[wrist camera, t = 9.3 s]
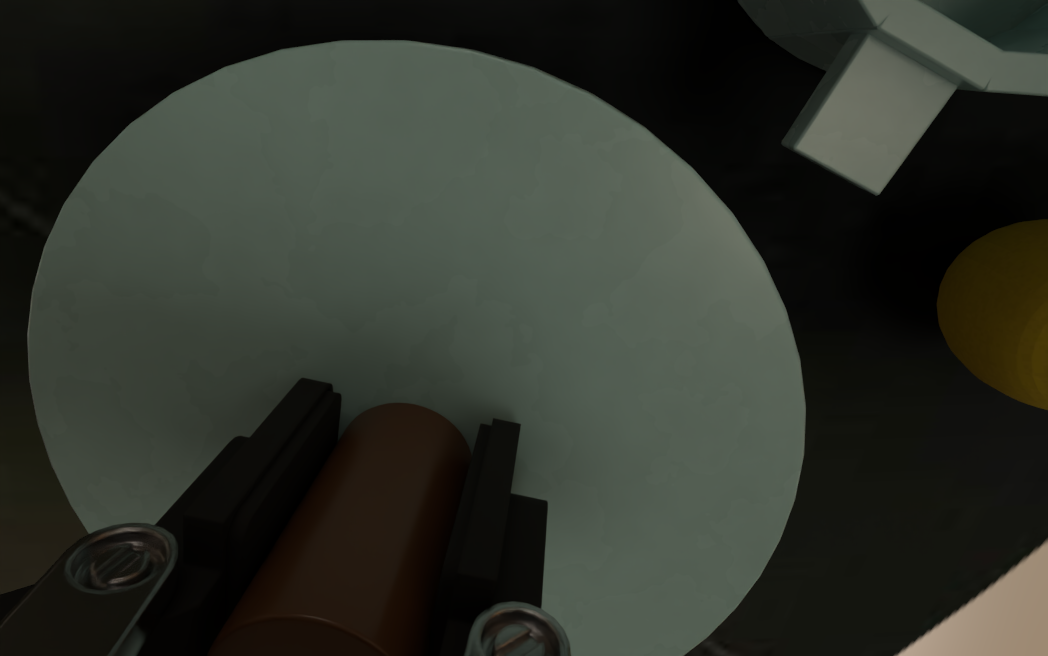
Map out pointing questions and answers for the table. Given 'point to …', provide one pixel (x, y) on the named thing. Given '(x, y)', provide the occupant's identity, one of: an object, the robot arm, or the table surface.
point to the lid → (424, 341)
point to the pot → (898, 70)
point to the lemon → (1001, 310)
